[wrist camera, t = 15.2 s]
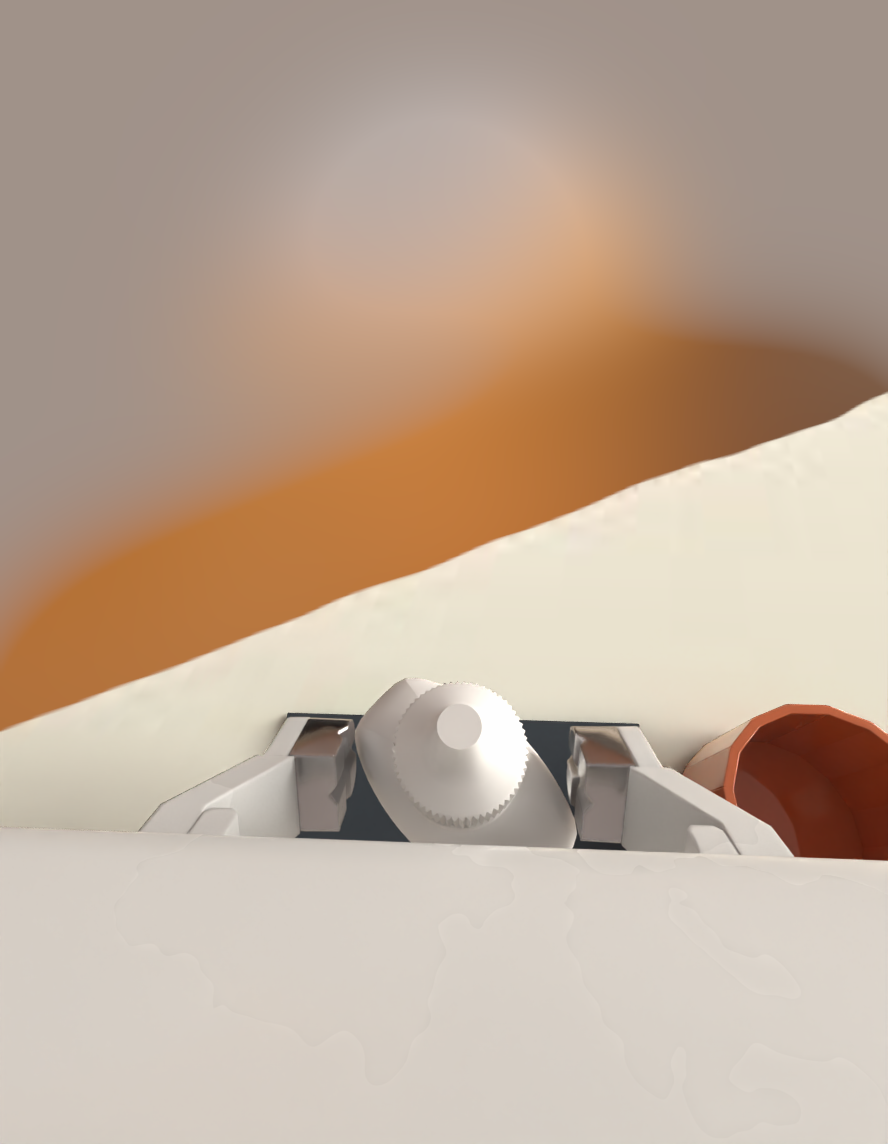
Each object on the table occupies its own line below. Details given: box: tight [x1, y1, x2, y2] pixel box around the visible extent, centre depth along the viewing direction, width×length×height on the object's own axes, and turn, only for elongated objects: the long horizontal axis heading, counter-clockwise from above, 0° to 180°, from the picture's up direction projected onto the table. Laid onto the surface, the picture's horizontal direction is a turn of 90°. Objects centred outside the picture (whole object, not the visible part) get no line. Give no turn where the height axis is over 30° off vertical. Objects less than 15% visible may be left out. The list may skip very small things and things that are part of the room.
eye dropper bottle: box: [355, 678, 577, 849], centre depth 13 cm, size 4×6×12 cm
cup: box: [682, 704, 888, 861], centre depth 25 cm, size 9×9×6 cm
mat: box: [287, 713, 639, 851], centre depth 27 cm, size 20×12×1 cm, turn 88°
